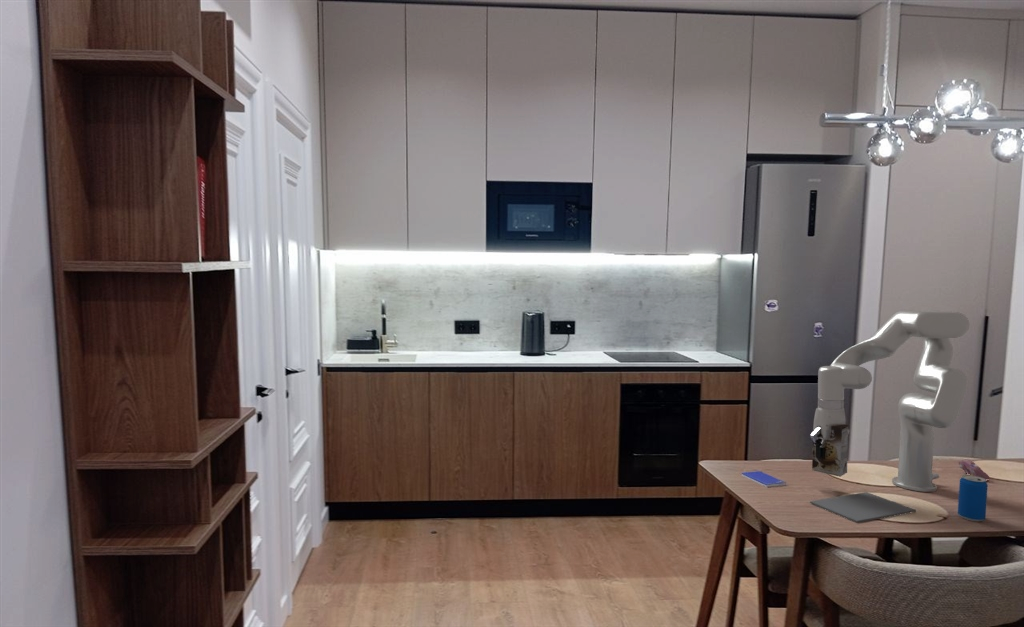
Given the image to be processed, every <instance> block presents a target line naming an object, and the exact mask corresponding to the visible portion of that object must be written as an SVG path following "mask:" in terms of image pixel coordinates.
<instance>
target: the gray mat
mask: <svg viewBox="0 0 1024 627" xmlns="http://www.w3.org/2000/svg"><path fill="white" fill-rule="evenodd" d="M810 503H811V504H810ZM809 504H810V505H813V506H816V507H818V508H820V507H821V508H820V509H822V508H823V510H825V509H826V510H825V511H827V510H828V512H830V513H832V512H833V514H834V513H835V514H834V515H838V516H839V515H840V516H839V517H841V516H842V518H844V517H845V518H844V519H846V518H847V519H846V520H849V521H851V520H852V521H851V522H853V523H856V524H858V523H859V524H860V523H863V522H868V521H874V520H879V519H884V517H885V518H889V516H891V517H895V516H894V515H896V516H900V514H901V515H905V513H906V514H910V512H912V513H916V509H914V508H913V507H909V506H906V505H903V504H901V503H898V502H895V501H892V500H889V499H887V498H883V497H881V496H878V495H876V494H873V493H871V492H868V491H865V492H859V493H853V494H847V495H846V494H845V495H840V496H835V497H828V498H823V499H816V500H811V501H809Z"/></svg>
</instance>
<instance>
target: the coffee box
mask: <svg viewBox="0 0 1024 627" xmlns="http://www.w3.org/2000/svg"><path fill="white" fill-rule="evenodd" d="M813 425H814V422H813V423H812V426H813ZM849 428H850V427H849V424H847V423H846V424H844V425H836V426H831V434H830V439H829V440H827V441H826V443H825V445H824V448H825V460H822V459H819V458H816V446H815V445H814V443H813V442H812V452H811V454H812V458H811V459H812V460H811V462H812V464H811V471H813V472H818V473H822V474H827V475H831V476H835V477H840V478H841V477H842V476H844V475H845V474H847V473H848V458H849V457H848V455H849V454H848V453H849V452H848V450H849V449H848V447H849V434H848V429H849ZM819 437H822V438H823V436H822V434H821V432H820V434H819ZM820 442H822V440H821V439H820Z"/></svg>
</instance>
